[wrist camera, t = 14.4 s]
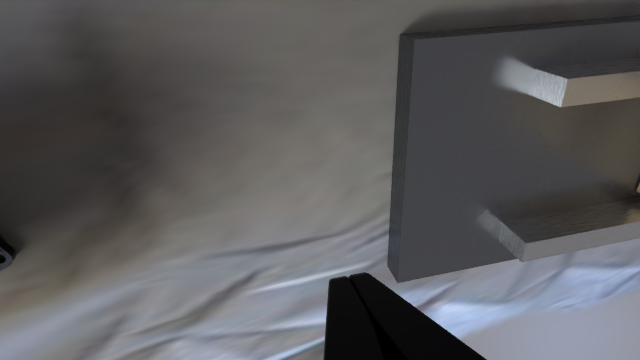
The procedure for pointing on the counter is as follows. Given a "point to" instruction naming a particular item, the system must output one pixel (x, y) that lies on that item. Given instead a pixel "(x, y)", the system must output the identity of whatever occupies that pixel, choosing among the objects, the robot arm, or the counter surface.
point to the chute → (514, 144)
